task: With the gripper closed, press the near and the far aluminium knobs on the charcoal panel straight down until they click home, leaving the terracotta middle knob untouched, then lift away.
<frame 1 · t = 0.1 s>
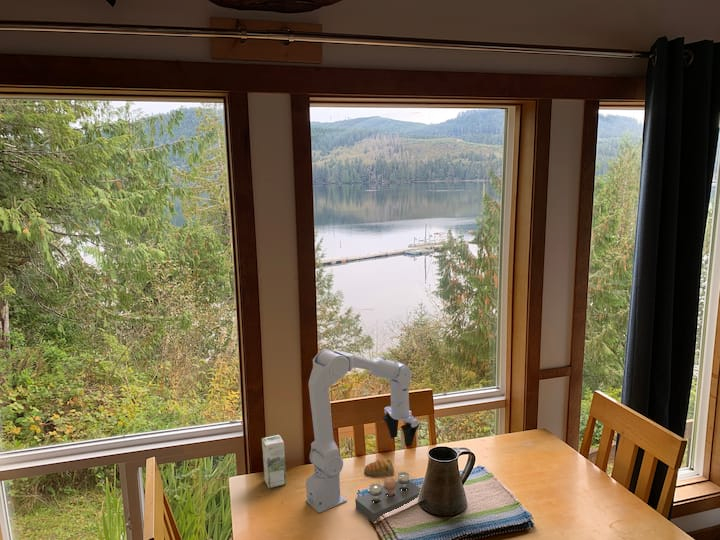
hand: (401, 441, 169), 10 cm above the table, tool pointing down, fingers open, 7 cm apart
pastry: (381, 472, 171), on the table
far knob: (403, 482, 154), point 5 cm above the table, slide at 0.0 cm
middle knob: (390, 488, 151), point 5 cm above the table, slide at 0.0 cm
near knob: (375, 494, 149), point 5 cm above the table, slide at 0.0 cm
syrup box: (275, 483, 167), on the table
knob panel: (390, 504, 152), on the table
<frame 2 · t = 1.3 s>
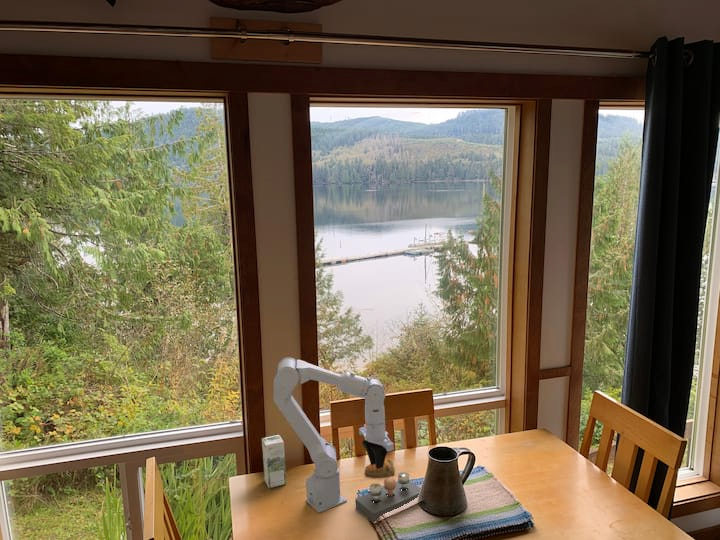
hand: (377, 465, 156), 9 cm above the table, tool pointing down, fingers closed
nothing on the table moved.
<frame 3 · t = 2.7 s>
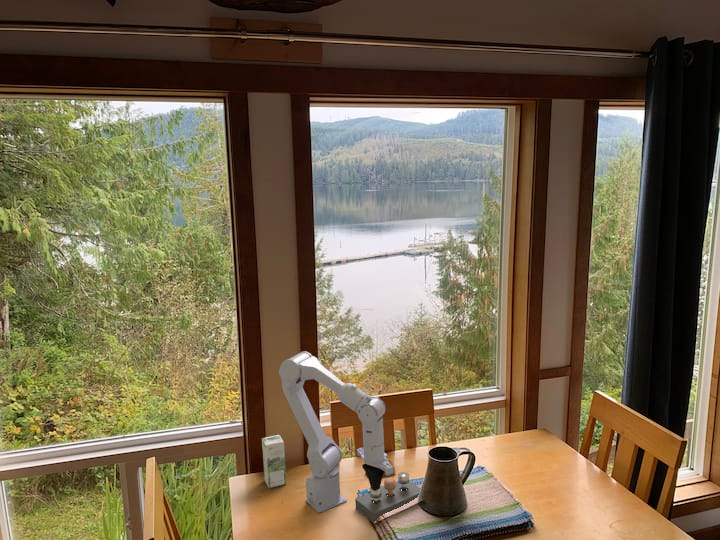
hand: (375, 488, 148), 7 cm above the table, tool pointing down, fingers closed, pressing on near knob
near knob: (375, 496, 149), point 4 cm above the table, slide at 0.6 cm, touching gripper
everything else where it was.
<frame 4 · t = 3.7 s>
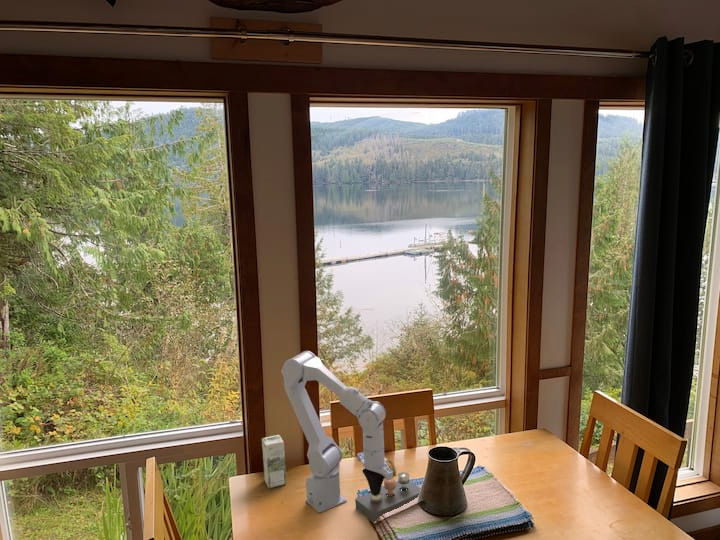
hand: (375, 493, 149), 5 cm above the table, tool pointing down, fingers closed
near knob: (376, 501, 149), point 3 cm above the table, slide at 2.1 cm
everything else where it was.
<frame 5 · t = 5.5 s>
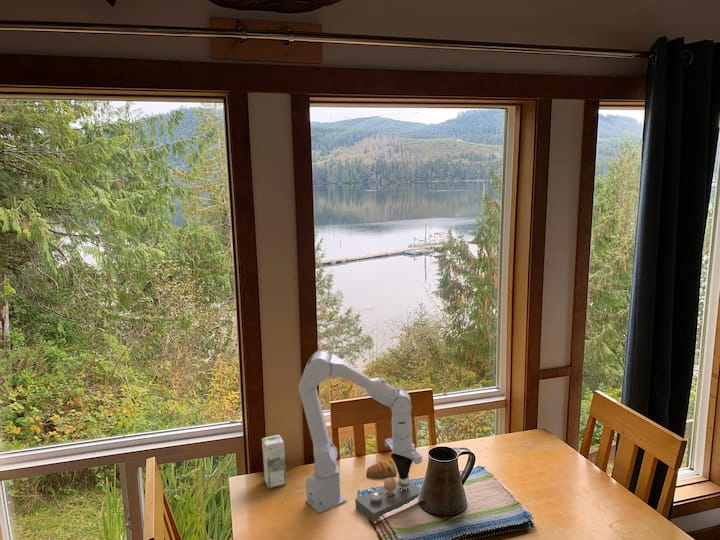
hand: (403, 477, 154), 6 cm above the table, tool pointing down, fingers closed, pressing on far knob
far knob: (403, 485, 154), point 4 cm above the table, slide at 0.8 cm, touching gripper
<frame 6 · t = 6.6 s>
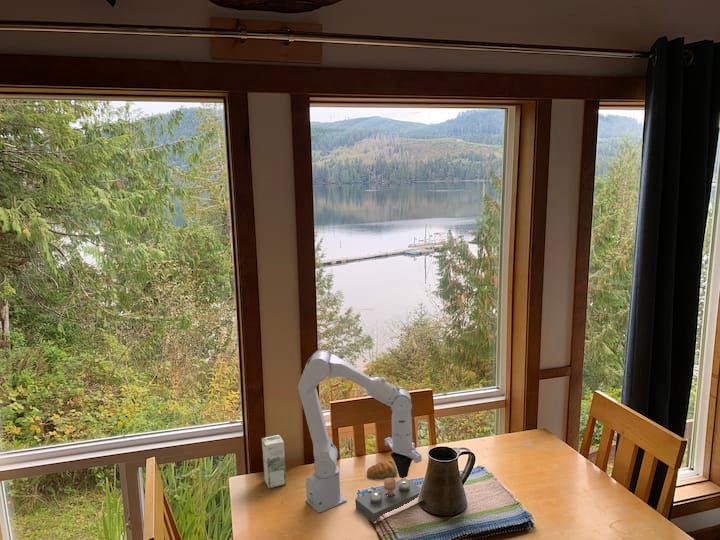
hand: (403, 476, 154), 7 cm above the table, tool pointing down, fingers closed
far knob: (404, 489, 154), point 3 cm above the table, slide at 2.1 cm
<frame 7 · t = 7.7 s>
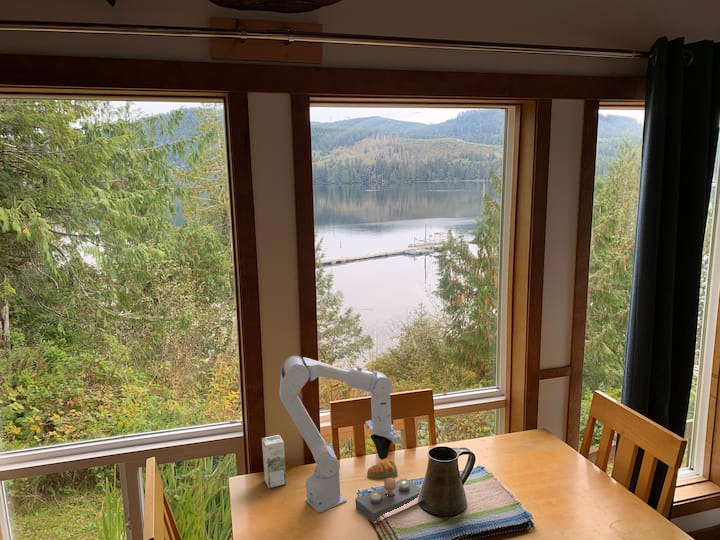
hand: (383, 457, 158), 10 cm above the table, tool pointing down, fingers closed
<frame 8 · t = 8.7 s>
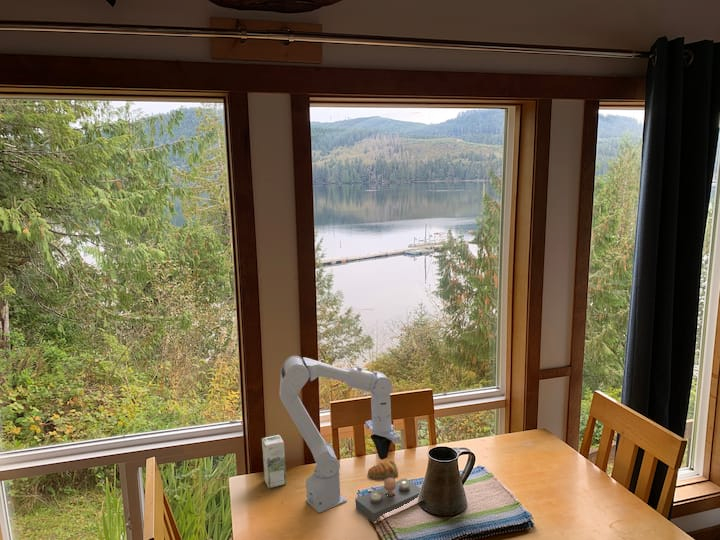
hand: (383, 457, 158), 10 cm above the table, tool pointing down, fingers closed
at the end: near knob slide at 2.1 cm; far knob slide at 2.1 cm; middle knob slide at 0.0 cm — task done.
